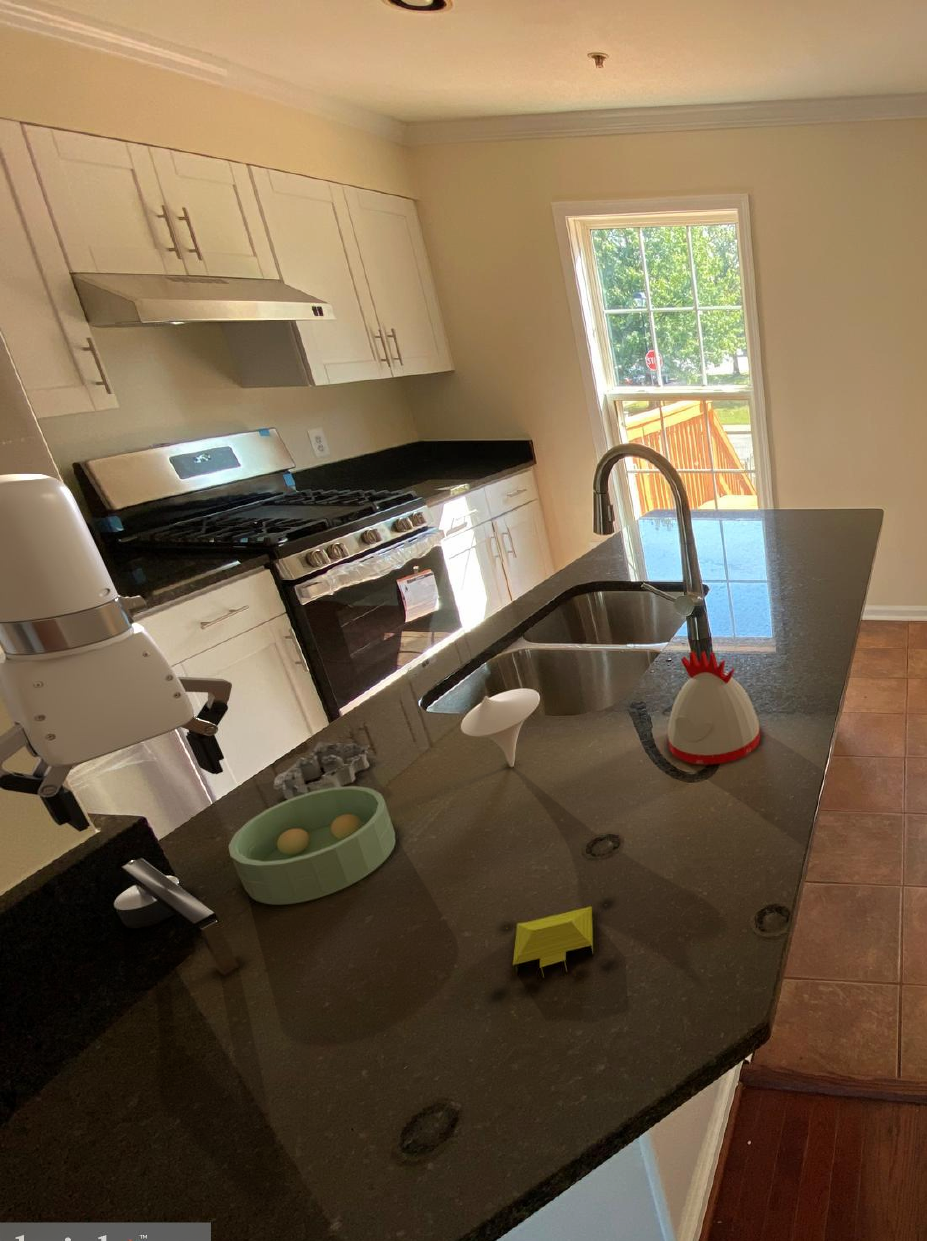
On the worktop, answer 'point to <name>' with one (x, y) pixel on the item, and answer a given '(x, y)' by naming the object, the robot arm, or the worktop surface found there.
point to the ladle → (170, 909)
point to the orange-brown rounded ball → (293, 841)
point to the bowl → (312, 845)
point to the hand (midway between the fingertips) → (149, 796)
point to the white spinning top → (501, 718)
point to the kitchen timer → (711, 715)
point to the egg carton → (336, 764)
